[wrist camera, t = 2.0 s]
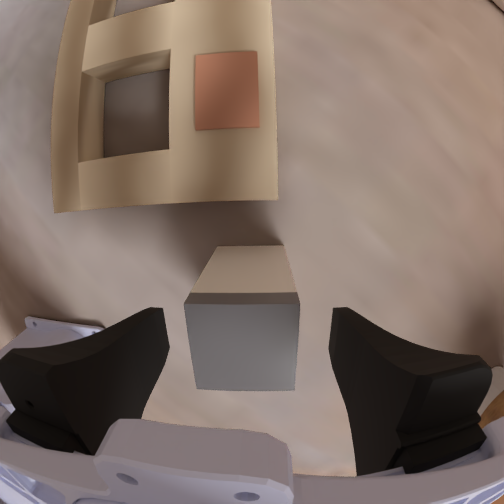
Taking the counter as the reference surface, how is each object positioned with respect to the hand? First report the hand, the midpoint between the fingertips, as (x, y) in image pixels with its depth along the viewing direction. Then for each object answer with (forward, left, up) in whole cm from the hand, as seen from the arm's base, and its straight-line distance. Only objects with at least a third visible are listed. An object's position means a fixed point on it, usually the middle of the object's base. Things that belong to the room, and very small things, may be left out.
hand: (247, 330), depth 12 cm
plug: (0, 0, -7) cm, 7 cm away
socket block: (-5, +15, -6) cm, 17 cm away
